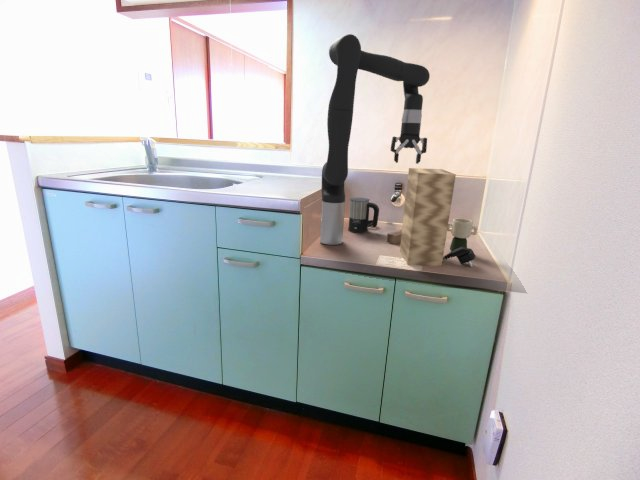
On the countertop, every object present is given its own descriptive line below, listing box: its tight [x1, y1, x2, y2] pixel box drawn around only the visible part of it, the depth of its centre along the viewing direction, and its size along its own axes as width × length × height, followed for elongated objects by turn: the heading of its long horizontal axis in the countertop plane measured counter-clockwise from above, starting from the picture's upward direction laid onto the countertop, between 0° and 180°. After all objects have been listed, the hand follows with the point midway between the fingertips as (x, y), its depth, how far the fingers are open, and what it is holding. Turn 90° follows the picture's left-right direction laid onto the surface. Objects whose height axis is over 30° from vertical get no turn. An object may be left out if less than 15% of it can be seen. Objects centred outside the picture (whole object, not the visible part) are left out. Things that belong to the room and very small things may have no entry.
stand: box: [399, 167, 457, 267], centre depth 124 cm, size 12×15×32 cm
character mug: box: [447, 217, 478, 252], centre depth 135 cm, size 11×7×13 cm, turn 65°
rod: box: [386, 229, 402, 245], centre depth 152 cm, size 4×23×4 cm, turn 131°
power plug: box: [443, 247, 476, 268], centre depth 124 cm, size 6×8×12 cm
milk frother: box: [347, 196, 380, 233], centre depth 162 cm, size 14×16×15 cm
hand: (406, 163), depth 144 cm, fingers open, 8 cm apart
